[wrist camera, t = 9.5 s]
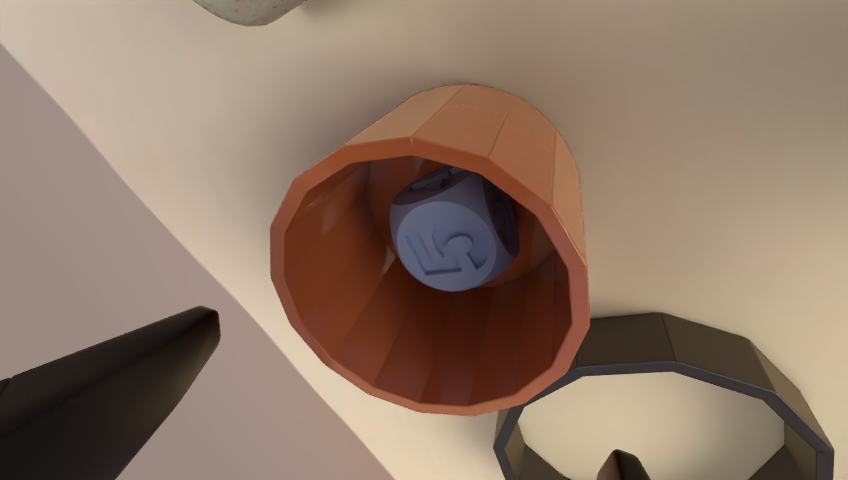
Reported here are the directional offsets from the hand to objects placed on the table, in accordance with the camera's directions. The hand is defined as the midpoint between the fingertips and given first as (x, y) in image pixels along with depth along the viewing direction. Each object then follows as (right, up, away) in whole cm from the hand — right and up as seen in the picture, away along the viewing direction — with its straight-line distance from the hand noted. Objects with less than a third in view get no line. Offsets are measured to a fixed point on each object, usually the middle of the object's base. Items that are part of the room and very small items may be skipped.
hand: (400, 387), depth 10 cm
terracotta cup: (+2, +5, +11) cm, 12 cm away
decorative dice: (+2, +5, +10) cm, 12 cm away
